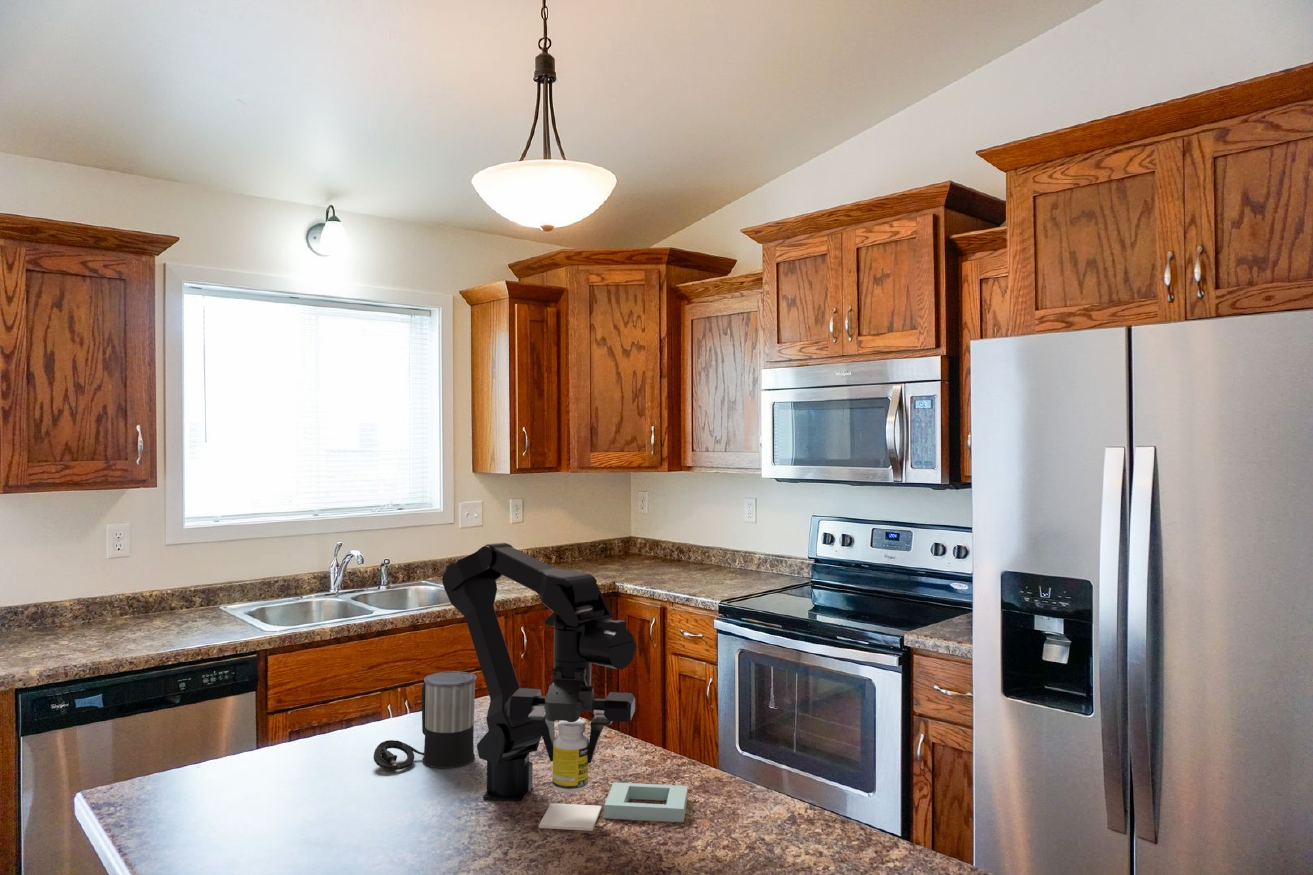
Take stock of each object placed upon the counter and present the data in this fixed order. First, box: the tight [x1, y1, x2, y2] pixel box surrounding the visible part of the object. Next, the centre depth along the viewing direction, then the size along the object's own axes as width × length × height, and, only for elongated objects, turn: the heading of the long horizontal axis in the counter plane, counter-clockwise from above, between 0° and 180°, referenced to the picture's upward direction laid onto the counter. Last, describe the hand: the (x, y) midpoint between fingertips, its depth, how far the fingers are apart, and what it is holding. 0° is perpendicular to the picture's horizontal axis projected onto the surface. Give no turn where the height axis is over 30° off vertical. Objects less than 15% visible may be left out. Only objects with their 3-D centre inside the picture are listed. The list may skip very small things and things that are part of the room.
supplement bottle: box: [551, 718, 590, 794], centre depth 130 cm, size 5×5×10 cm
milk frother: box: [373, 670, 477, 771], centre depth 152 cm, size 14×16×15 cm
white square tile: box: [538, 803, 603, 832], centre depth 129 cm, size 8×8×1 cm
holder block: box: [603, 781, 689, 823], centre depth 133 cm, size 12×9×2 cm
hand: (570, 761), depth 130 cm, fingers closed on supplement bottle, 5 cm apart
